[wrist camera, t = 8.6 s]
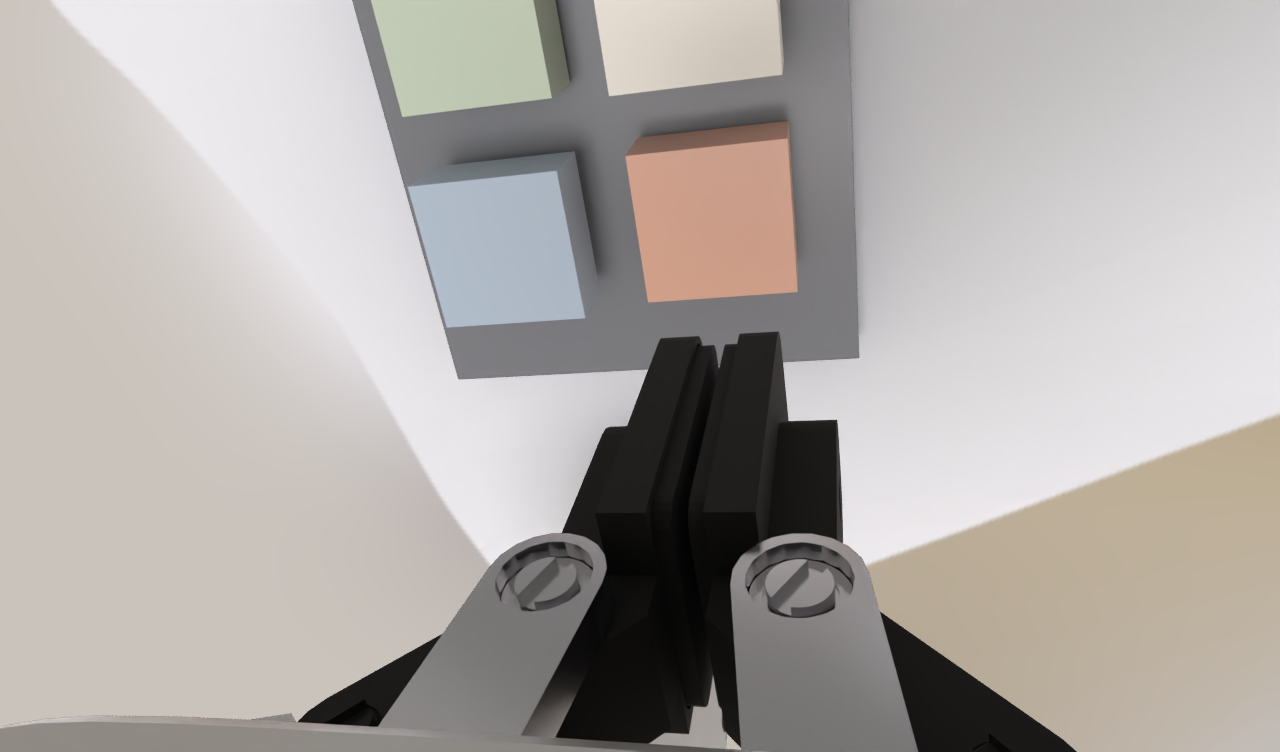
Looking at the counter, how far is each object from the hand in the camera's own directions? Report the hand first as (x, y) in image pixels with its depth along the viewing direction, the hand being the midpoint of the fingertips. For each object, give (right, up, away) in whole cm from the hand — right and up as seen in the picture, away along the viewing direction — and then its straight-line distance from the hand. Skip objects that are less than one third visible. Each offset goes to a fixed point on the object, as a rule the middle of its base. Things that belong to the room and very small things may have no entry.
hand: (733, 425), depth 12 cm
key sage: (-6, +12, +15) cm, 21 cm away
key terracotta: (+1, +7, +17) cm, 18 cm away
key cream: (0, +12, +13) cm, 18 cm away
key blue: (-6, +6, +18) cm, 19 cm away
